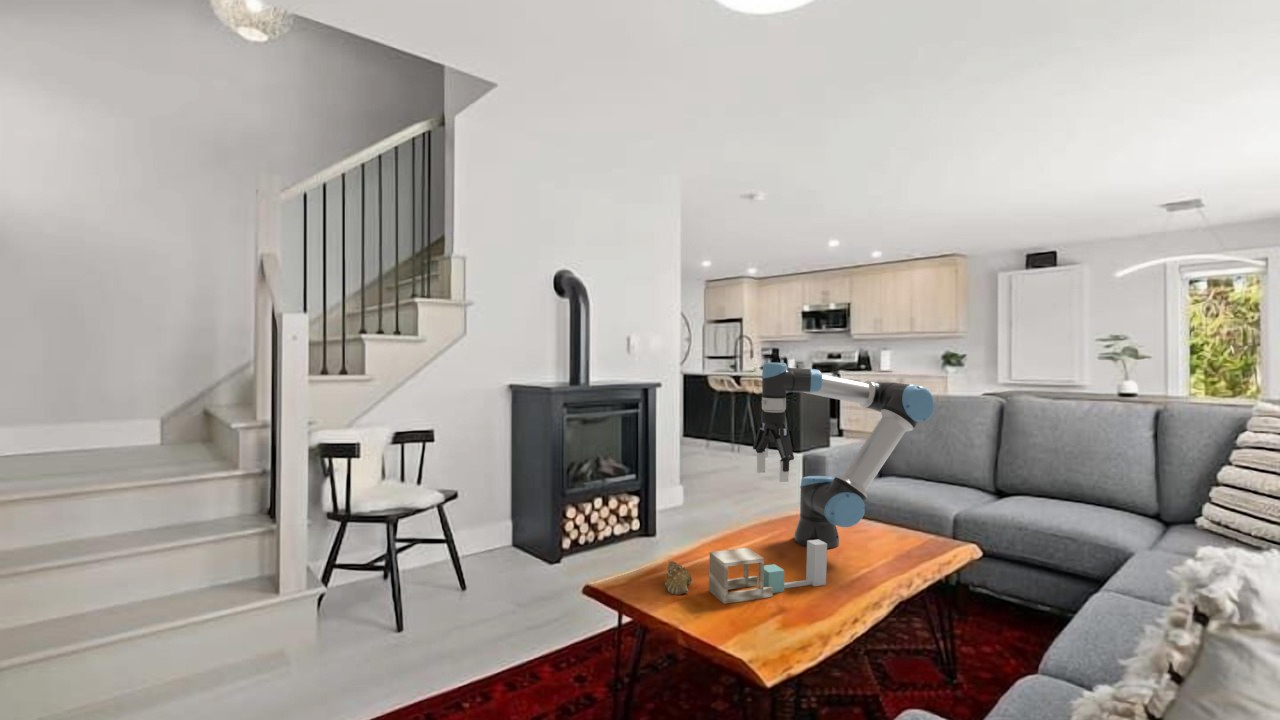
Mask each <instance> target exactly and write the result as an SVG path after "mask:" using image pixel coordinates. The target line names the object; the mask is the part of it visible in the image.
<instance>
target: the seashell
mask: <svg viewBox="0 0 1280 720" xmlns="http://www.w3.org/2000/svg"><path fill="white" fill-rule="evenodd" d="M666 576H667V578H666V579H667V580H666V581H665V583H664V586H665V588H666V589H667V590H666V591H667V592H668V593H669V594H671V595H674V596H675V595H679V596H680V595H683V594H688V593H689V589H688V586H690V585H691V584H692V582H693V579H692V577H691V575H690V573H689V570H688V569H687V568H686V567H684V566H682V565H681V564H680V563H677V562H675V561H668V565H667V573H666Z"/></svg>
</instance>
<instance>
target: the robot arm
mask: <svg viewBox="0 0 1280 720" xmlns="http://www.w3.org/2000/svg"><path fill="white" fill-rule="evenodd" d="M761 372H762V374H761V378H762V381H761V382H762V383H761V386H762V387H761V410H762V411H761V420H760V421H761V423H758V428H757V433H756V436H755V439H754V442H753V445H752V449H753V450H755V453H756V473H757V474H760V473H761V474H762V473H766V448H767V446H768V445H769V443H770V441H771V442H773V443H774V444H775V446H776V448H777V451H778V453H779V456H780V460H779V482H780V483H785V482H787V483H788V482H789V474H790V473H789V471H790V461H793V460H794V459H795V457H794V451H793V448H792V443H791V440H790V436H789V435H790V433H789V428H783V425H784V424H785V423H786V414H787V413H786V410H787V393H805V394H808V395H809V394H810V395H815V396H819V397H823V398H829V399H834V400H840V401H845V402H850V403H854V404H855V403H856V404H859V405H860V406H861V407H862V408H866V409H870V410H873V411H875V412H879V413H881V418H880V420H878V423H877V424H876V426H875V427H874V429H873V430H872V432H871V433H870V435H869V436H868V437H867V439H866V440H865V442H864V443H863V445H862V446H861V447H860V449H859V451H858V452H857V453H856V455H855V456H854V458H853V459H852V460H851V462H850V464H849V465H848V467H847V468H846V469H845V471H844V472H843V474H842V475H836V476H835V477H834V476H827V475H826V476H825V475H808V476H804V477H802V478H801V481H800V486H799V488H800V495H799V496H800V502H799V503H800V506H799V507H800V509H799V512H800V513H799V520H798V522H797V525H796V530H795V532H794V535H793V536H794V541H795V542H796V543H797V544H799V545H801V546H804V547H807V541H809V540H818V539H819V540H821V541H823V542H825V543H827V549H833V548H837V547H838V546H839V545H840V536H839V532H838V529H837V527H840V528H850V527H853V526H855V525H857V524H858V523H859V522H860V521H861V520H862V519H863V517H864V516H865V511H866V509H865V508H866V505H865V502H866V500H867V498H868V495H867V490H868V488H869V486H870V485H871V484H872V482H873V481H874V479H875V477H876V476H877V475H878V473H879V472H880V471H881V469H882V467H883V466H884V465H885V463H886V461H887V460H888V459H889V457H890V456H891V454H892V453H893V451H894V450H895V448H896V447H897V445H898V443H899V442H900V441H901V440H902V438H903V436H904V435H905V433H906V432H910V431H913V430H914V429H915V428H916V426H917V425H918V423H919V422H921V423H922V422H925V421H927V420H928V419H930V418H931V416H932V415H933V414H934V411H935V402H934V396H933V395H932V393H931V391H930V390H929V389H927V387H925V386H922V385H917V384H914V383H912V384H909V383H908V384H907V383H901V382H900V383H899V382H888V381H887V382H885V381H884V382H882V381H872V380H866V381H863V382H862V381H857V380H854V379H853V380H852V379H848V378H847V379H846V378H843V377H838V376H833V375H827V374H822V372H821V371H820V370H819V369H815V368H797V367H796V368H795V367H788V366H787V363H786V362H765V363H764V364H763V366H762V371H761ZM794 461H795V460H794Z"/></svg>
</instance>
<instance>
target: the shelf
mask: <svg viewBox="0 0 1280 720" xmlns="http://www.w3.org/2000/svg"><path fill="white" fill-rule="evenodd" d="M708 559H709V562H708V563H709V564H708V565H709V566H708V568H709V569H708V570H709V571H708V574H709V575H708V591H709V593H711V594H712V595H713V596H714V597H715V598H716V599H717V600H719V601H720V602H721V603H722V604H724V605H725V604H726V605H727V604H732V603H739V602H746V601H752V600H760V599H766V598H772V597H774V596H773V594H774V593H773V588H772V587H771V586H770V587H763V582H764V566H765V558H764V557H763V556H761V555H759V554H758V553H756V552H754V550H751V549H750V548H748V547H741V548H734V549H733V548H732V549H725V550H713V551H709V558H708ZM750 564H751V565H752V564H758V576H757V575H752V576H750V575H749V570H750V568H749V566H750ZM742 565H743V577H742V576H741V577H737V578H729V577H728V576H729V567H733V566H734V567H735V566H742ZM756 586H757V588H751V589H749V587H756ZM744 588H748V589H744ZM734 589H735V590H736V589H741V590H736V591H735V590H734ZM742 589H743V590H742ZM728 590H734V591H728Z"/></svg>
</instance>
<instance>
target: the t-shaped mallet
mask: <svg viewBox="0 0 1280 720" xmlns="http://www.w3.org/2000/svg"><path fill="white" fill-rule="evenodd" d="M827 563H828V548H827V543H825V542H823V541H821V540H819V539H818V540H809V541H807V546H806V567H805V568H806V569H805V570H806V574H805V577H806V578H805V579H803V580H797V581H789V582H785V569H783V568H782V567H780V566H778V565H777V564H766V565H765V564H764V582H763V587H770V586H771V587H772V588H773V594H776V593H783V592H784V591H785V589H790V588H797V587H803V586H811V585H812V586H813V587H819V586H826V585H827V569H828V568H827Z"/></svg>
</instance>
